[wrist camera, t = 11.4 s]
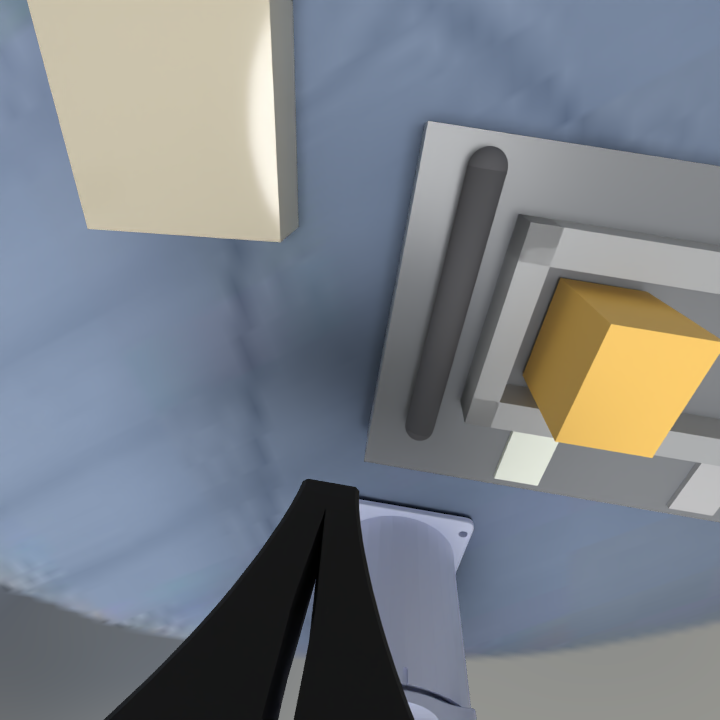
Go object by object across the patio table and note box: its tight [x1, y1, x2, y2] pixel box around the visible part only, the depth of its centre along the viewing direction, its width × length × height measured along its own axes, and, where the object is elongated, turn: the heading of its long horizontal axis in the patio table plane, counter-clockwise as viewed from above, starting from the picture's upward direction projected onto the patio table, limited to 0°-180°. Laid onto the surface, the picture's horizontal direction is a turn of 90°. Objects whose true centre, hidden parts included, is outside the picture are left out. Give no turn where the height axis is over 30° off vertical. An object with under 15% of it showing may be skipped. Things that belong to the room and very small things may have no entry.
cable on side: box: [405, 146, 508, 441], centre depth 15 cm, size 11×1×1 cm, turn 172°
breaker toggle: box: [523, 278, 720, 458], centre depth 13 cm, size 4×3×4 cm
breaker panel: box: [364, 121, 720, 522], centre depth 16 cm, size 14×22×4 cm, turn 82°
